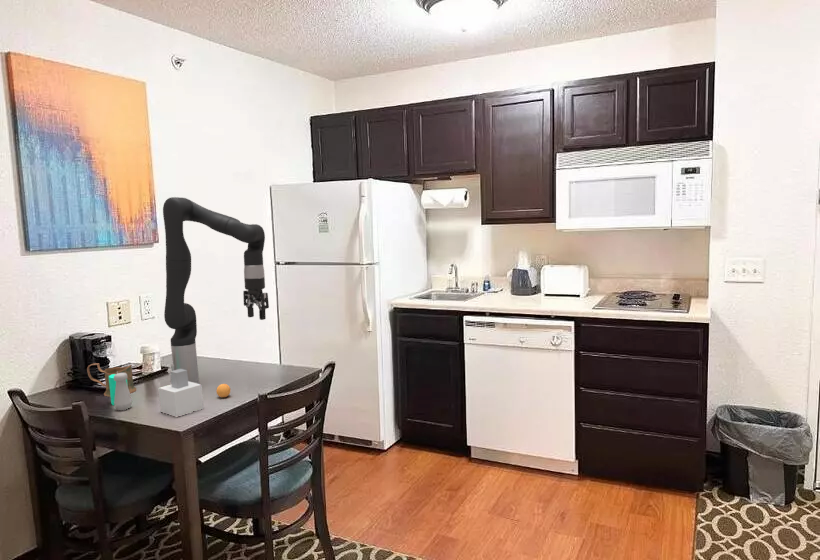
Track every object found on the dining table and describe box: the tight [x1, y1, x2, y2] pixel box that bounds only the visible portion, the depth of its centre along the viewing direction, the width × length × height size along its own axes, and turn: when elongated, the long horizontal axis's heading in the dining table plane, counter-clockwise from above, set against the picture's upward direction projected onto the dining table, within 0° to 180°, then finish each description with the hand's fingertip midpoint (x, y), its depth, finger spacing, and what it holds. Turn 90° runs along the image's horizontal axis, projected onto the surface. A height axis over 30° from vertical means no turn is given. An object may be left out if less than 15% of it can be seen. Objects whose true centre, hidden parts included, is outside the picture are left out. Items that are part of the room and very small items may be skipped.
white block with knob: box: [157, 369, 205, 416], centre depth 198 cm, size 10×10×14 cm
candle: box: [109, 373, 128, 406], centre depth 210 cm, size 6×6×12 cm
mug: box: [86, 362, 137, 398], centre depth 224 cm, size 12×18×12 cm, turn 91°
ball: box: [216, 383, 231, 398], centre depth 212 cm, size 5×5×5 cm
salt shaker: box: [113, 373, 133, 411], centre depth 203 cm, size 6×6×13 cm
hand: (256, 318), depth 219 cm, fingers open, 8 cm apart
